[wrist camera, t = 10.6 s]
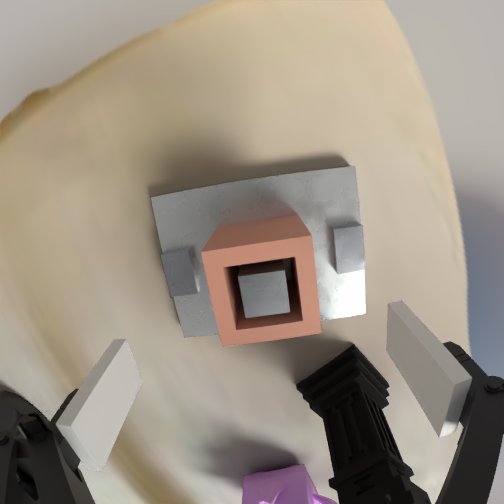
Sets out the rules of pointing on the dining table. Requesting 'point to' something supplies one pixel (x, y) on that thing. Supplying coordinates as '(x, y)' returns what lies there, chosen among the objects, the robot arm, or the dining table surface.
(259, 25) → the dining table surface
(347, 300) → the stand
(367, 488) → the chess piece
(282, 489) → the teapot
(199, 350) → the dining table surface
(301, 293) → the box
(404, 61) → the dining table surface
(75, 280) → the dining table surface
